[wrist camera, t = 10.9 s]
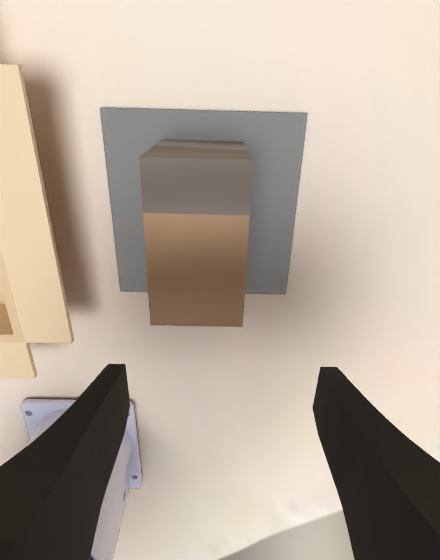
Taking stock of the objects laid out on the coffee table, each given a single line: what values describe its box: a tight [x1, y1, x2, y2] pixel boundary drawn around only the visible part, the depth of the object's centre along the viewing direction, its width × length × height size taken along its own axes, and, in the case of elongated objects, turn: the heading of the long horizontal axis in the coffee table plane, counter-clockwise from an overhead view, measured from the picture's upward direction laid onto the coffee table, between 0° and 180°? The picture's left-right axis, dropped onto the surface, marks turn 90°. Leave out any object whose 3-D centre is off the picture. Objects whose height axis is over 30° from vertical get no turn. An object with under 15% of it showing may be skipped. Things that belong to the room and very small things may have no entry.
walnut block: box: [139, 139, 254, 327], centre depth 17 cm, size 7×4×6 cm, turn 178°
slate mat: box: [100, 108, 308, 294], centre depth 20 cm, size 10×10×1 cm
